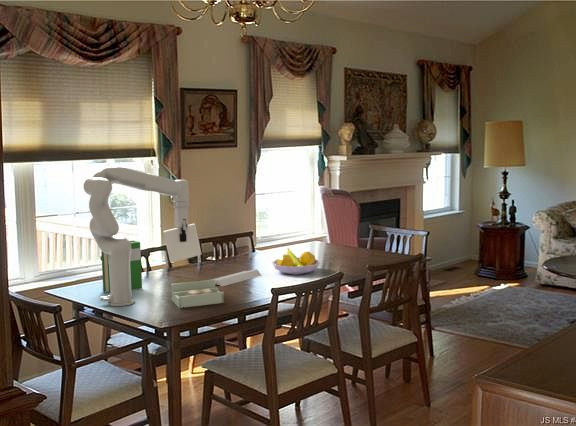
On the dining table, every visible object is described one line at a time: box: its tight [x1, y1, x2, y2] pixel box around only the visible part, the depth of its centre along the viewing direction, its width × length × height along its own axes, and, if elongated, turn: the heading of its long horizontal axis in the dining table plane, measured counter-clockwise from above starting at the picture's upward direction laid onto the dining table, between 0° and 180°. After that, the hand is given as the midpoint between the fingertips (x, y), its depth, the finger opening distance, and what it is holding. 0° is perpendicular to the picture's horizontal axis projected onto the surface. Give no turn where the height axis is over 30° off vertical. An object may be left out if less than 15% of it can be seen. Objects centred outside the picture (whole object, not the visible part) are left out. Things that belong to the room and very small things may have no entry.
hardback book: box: [100, 240, 143, 294], centre depth 338 cm, size 18×7×24 cm, turn 129°
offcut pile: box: [186, 288, 212, 296], centre depth 311 cm, size 12×6×6 cm, turn 111°
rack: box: [170, 278, 225, 309], centre depth 313 cm, size 21×15×8 cm
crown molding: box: [210, 269, 262, 287], centre depth 359 cm, size 31×12×4 cm, turn 142°
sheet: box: [163, 223, 203, 264], centre depth 333 cm, size 16×2×16 cm, turn 112°
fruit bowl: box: [271, 247, 321, 276], centre depth 376 cm, size 28×27×11 cm
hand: (182, 241), depth 333 cm, fingers closed on sheet, 2 cm apart
